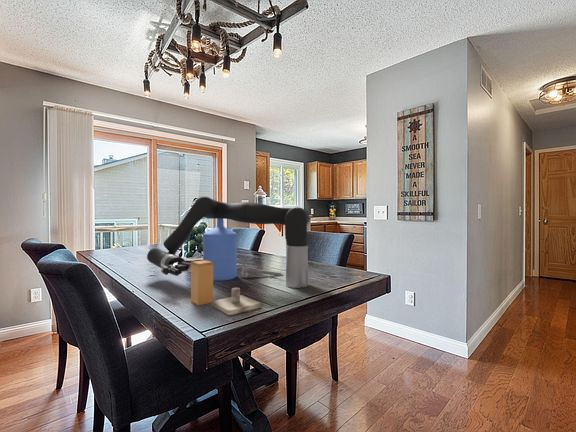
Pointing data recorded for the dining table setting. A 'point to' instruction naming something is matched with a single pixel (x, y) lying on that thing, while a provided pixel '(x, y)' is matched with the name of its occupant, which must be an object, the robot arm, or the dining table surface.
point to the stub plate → (235, 303)
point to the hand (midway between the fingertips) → (189, 271)
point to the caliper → (257, 271)
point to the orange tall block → (201, 282)
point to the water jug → (221, 251)
